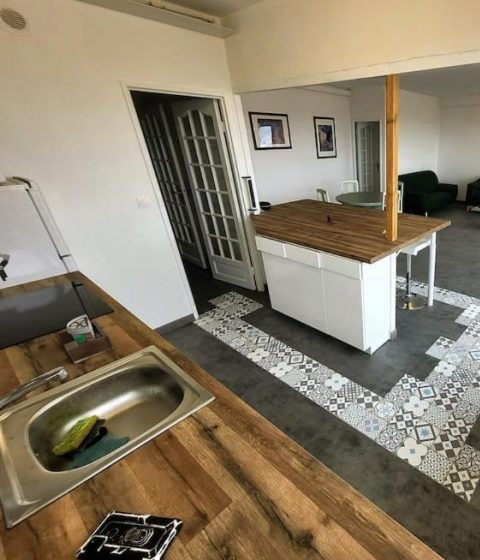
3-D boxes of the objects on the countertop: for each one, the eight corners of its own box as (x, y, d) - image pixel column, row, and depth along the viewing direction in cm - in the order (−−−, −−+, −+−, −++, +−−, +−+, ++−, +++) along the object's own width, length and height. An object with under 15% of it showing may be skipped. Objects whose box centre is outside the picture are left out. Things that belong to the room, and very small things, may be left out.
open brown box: (74, 363, 109) (67, 350, 107) (63, 345, 119) (57, 332, 116) (113, 348, 117) (107, 336, 115) (100, 332, 127) (95, 320, 124)
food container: (75, 341, 120) (64, 319, 115) (96, 335, 124) (86, 313, 119) (76, 356, 112) (65, 333, 107) (99, 349, 116) (88, 326, 111)
